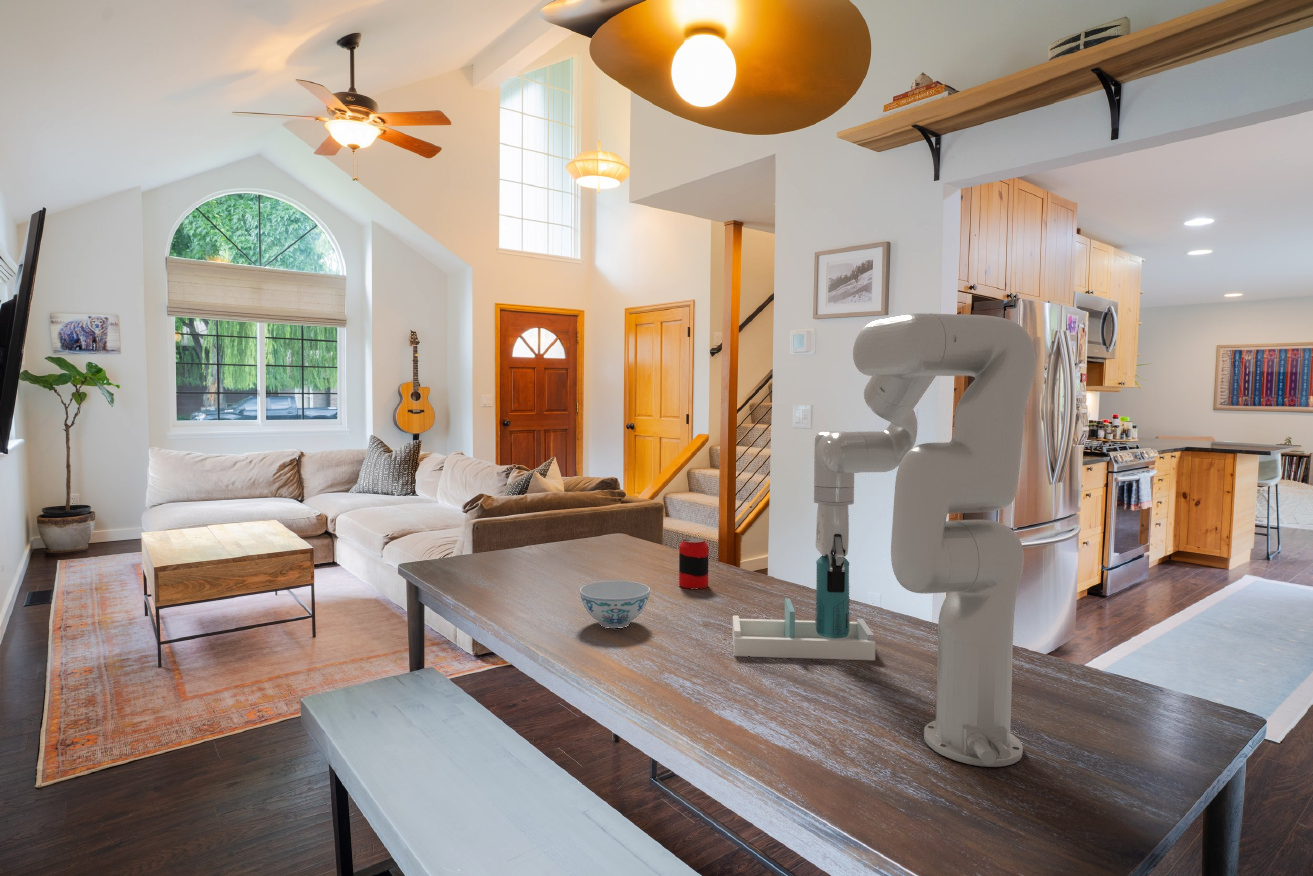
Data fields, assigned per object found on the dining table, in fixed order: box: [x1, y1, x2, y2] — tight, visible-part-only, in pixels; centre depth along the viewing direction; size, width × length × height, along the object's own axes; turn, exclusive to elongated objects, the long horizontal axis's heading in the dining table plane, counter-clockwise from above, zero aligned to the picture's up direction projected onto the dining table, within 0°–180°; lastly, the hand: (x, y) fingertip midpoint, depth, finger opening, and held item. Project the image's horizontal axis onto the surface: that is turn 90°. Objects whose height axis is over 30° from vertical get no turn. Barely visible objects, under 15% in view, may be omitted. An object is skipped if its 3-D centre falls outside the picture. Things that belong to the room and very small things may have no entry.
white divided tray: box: [731, 615, 876, 661], centre depth 140 cm, size 12×26×4 cm, turn 86°
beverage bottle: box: [814, 549, 851, 638], centre depth 139 cm, size 6×7×20 cm
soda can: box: [678, 537, 710, 589], centre depth 187 cm, size 8×8×12 cm
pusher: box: [784, 597, 796, 638], centre depth 140 cm, size 9×1×8 cm, turn 176°
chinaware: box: [579, 580, 651, 628], centre depth 154 cm, size 15×15×8 cm
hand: (832, 586), depth 139 cm, fingers closed on beverage bottle, 6 cm apart
